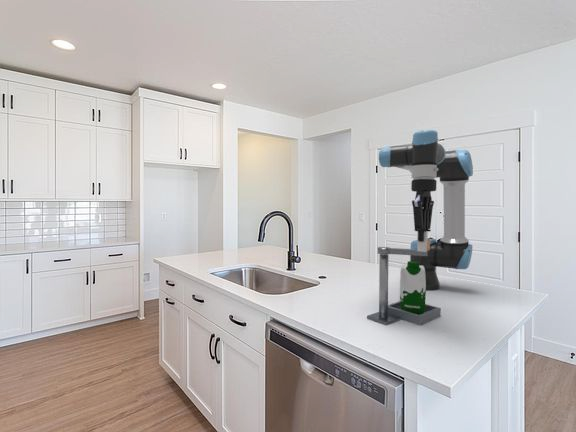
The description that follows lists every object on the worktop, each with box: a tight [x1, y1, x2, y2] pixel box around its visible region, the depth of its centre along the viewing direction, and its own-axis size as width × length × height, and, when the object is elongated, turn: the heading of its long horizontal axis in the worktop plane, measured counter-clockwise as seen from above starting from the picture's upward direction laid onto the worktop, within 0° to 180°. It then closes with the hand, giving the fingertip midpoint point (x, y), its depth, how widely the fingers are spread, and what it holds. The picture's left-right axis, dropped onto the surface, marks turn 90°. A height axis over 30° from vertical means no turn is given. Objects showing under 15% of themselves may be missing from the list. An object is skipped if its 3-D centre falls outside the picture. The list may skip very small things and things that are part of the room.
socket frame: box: [388, 300, 442, 326], centre depth 118 cm, size 14×14×3 cm
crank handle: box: [377, 237, 431, 256], centre depth 110 cm, size 17×4×6 cm, turn 67°
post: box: [366, 254, 401, 326], centre depth 113 cm, size 8×8×23 cm
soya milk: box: [399, 261, 427, 315], centre depth 118 cm, size 9×9×20 cm
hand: (422, 251), depth 105 cm, fingers closed
